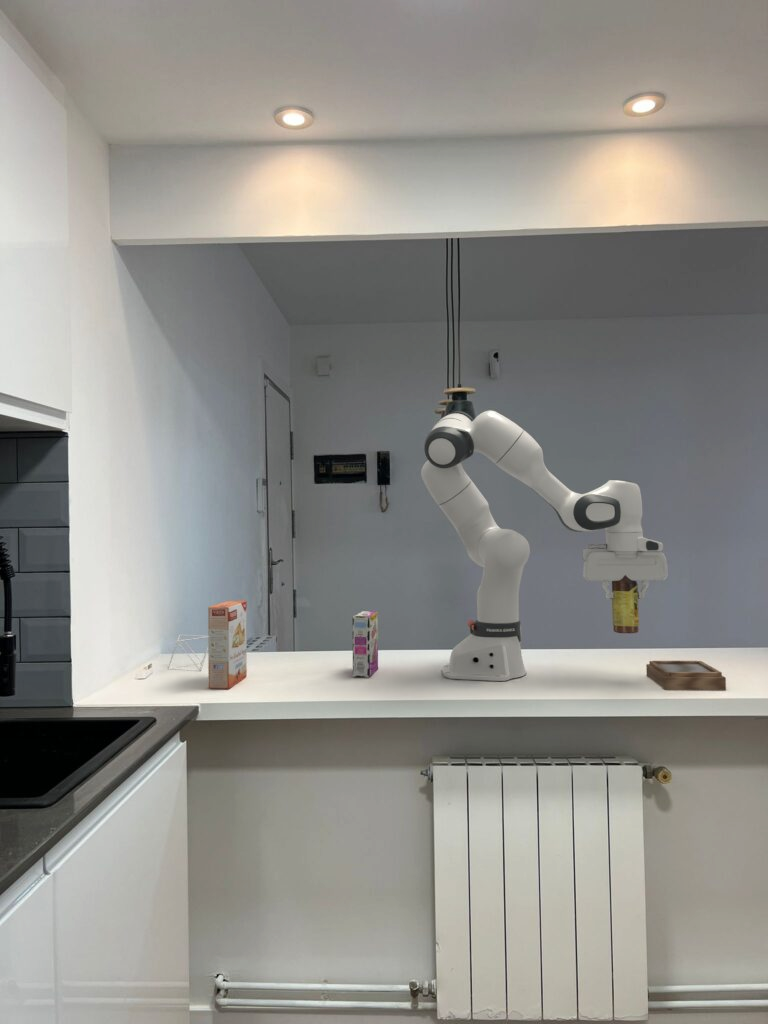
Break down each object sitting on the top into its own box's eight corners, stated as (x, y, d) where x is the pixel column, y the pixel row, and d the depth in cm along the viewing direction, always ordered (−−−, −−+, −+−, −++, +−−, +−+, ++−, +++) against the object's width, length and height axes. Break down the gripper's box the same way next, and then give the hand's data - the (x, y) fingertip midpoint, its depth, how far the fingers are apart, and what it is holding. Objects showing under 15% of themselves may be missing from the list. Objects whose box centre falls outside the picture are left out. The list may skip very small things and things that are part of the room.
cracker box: (230, 689, 173) (229, 606, 173) (207, 689, 174) (206, 606, 174) (248, 676, 187) (247, 599, 187) (227, 676, 188) (226, 599, 188)
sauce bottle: (641, 634, 170) (639, 553, 170) (614, 634, 171) (612, 554, 171) (636, 630, 176) (635, 552, 176) (611, 630, 177) (609, 552, 178)
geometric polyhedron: (217, 668, 199) (217, 636, 199) (182, 674, 191) (182, 641, 191) (197, 662, 208) (196, 632, 208) (162, 668, 200) (162, 636, 200)
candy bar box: (370, 678, 182) (369, 616, 183) (352, 677, 183) (351, 616, 184) (379, 669, 193) (378, 610, 193) (362, 668, 194) (361, 610, 195)
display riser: (665, 690, 165) (665, 673, 165) (646, 675, 180) (646, 660, 180) (725, 690, 164) (725, 673, 164) (701, 675, 179) (701, 660, 179)
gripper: (584, 544, 171) (585, 600, 171) (669, 543, 169) (670, 600, 169) (579, 543, 177) (580, 597, 177) (661, 542, 176) (662, 597, 176)
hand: (625, 598), depth 173 cm, fingers closed on sauce bottle, 6 cm apart
